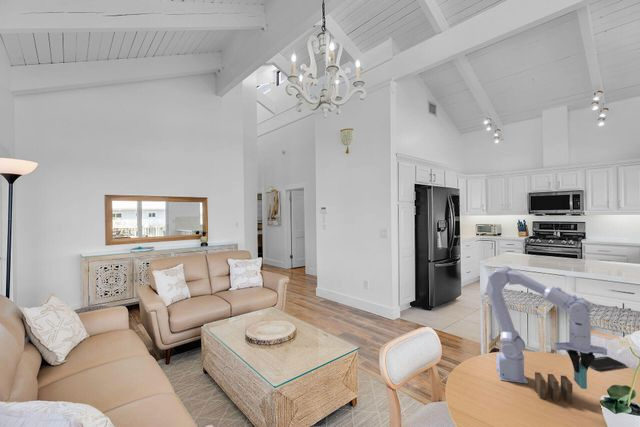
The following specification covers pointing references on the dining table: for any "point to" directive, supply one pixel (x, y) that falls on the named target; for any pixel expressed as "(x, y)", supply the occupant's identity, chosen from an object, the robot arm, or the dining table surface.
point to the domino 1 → (540, 385)
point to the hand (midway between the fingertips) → (580, 371)
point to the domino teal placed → (581, 376)
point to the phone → (605, 364)
